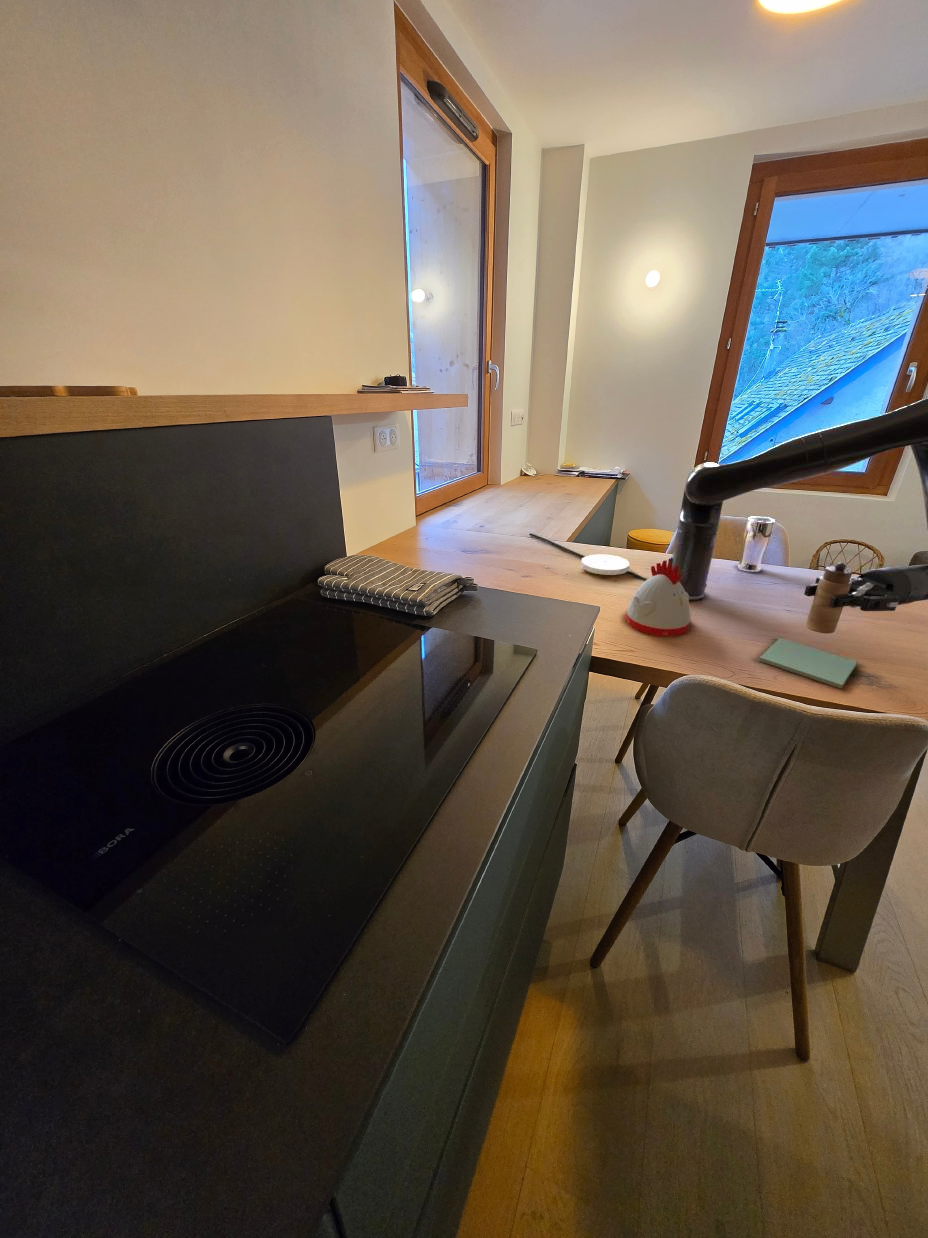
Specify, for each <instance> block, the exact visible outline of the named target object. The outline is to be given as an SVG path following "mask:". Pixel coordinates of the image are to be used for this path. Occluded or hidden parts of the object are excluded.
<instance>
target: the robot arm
mask: <svg viewBox="0 0 928 1238" xmlns="http://www.w3.org/2000/svg"><path fill="white" fill-rule="evenodd" d="M909 446H910V449H911V452H912V454H913V457H914V460H915V463H916V466H917V471H918V474H919V478H920V483H921V488H922V494H923V502H924V511H925V520H926V528H927V529H926V530H928V397H926V398H924V399H921V400H919V401H915V402H914V403H911V404H908V405H906V406H902V407H900V408H898V409H895V410H892V411H889V412H887V413H883V414H879V415H877V416H873V417H870V418H864V419H860V420H856V421H851V422H847V423H844V424H841V425H836V426H833V427H828V428H825V429H822V430H821V429H820V430H818V431H815V432H811V433H807V434H805V435H801V436H797V437H794V438H792V439H790V440H787V441H784V442H782V443H780V444H777V445H776V446H773V447H771V448H769V449H767V450H765V451H763V452H761V453H759V454H757V455H754V456H752V457H749V458H746V459H742V460H738V461H733V462H730V463H725V464H718V463H715V462H703V463H700V464H698V465H696V466H695V467H693V468H692V469H691V471H689V472H688V474H687V477H686V479H685V483H684V488H683V489H684V490H683V495H682V500H681V506H680V511H679V517H678V522H677V529H676V535H675V540H674V545H673V550H672V556H670V557H669V558H668V561H667V564H668V563H670V562H672V571H673V569H674V567H675V566H679V568H678V575H679V574H681V573H683V575H682V577H681V578H680V579H679V582H680V584H681V585H682V586H683V588H684V590H685V592H687V593H688V595H689V601H696V600H697V601H698V600H701V599H703V598H704V596H705V591H706V588H707V585H708V584H707V582H708V577H709V572H710V568H711V565H712V559H713V554H714V550H715V545H716V541H717V537H718V536H717V535H718V532H719V526H720V522H721V514H722V510H723V505H724V501H727V500H731V499H733V498H736V497H738V496H741V495H745V494H747V493H750V492H753V491H757V490H761V489H766V488H772V487H776V486H780V485H785V484H789V483H793V482H798V481H803V480H807V479H812V478H816V477H818V476H819V477H820V476H822V475H826V474H830V473H832V472H836V471H839V470H842V469H844V468H847V467H850V466H852V465H855V464H858V463H860V462H862V461H865V460H867V459H871V458H873V457H875V456H877V455H879V454H883V453H885V452H889V451H892V450H897V449H900V448H905V447H909ZM528 535H529V536H530V537H533V538H536V539H538V540H541V541H543V542H546V543H547V544H551V545H552V546H554V547H557V548H559V549H561V550H563V551H565V552H568V553H570V554H572V555H574V556H577V557H578V558H581V559H582V558H583V557H585V556H586V555H583V554H581V553H579V552H576V551H574V550H572V549H569V548H568V547H565V546H563V545H561V544H558V543H556V542H554V541H552V540H550V539H547V538H545V537H543V536H540V535H537V534H533V533H531V532H530V533H529V534H528ZM624 574H627V575H630V576H632V577H635V578H637V579H639V580H643V581H644V582H645V581H646V580H648V579H649V578H645V577H643V576H641V575H639V574H637V573H635V572H633V571H630V570H628V571H627V572H625V573H624ZM821 576H824V574H823V575H820V576H817V577H816V578H815V581H814V583H810V584H807V585H806V586H805V590H804V593H803V594H804V595H803V596H806V597H814V596H815V593H816V590H817V586H818V583H819V580H820V577H821ZM850 581H851V582H852V584H851V587H850V589H849V592H848V594H842V595H834V596H833V597H832V598H831V601H830V604H829V606H830V607H832V608H837V607H843V608H845V607H849V608H852V609H856V608H857V607H858V608H859V610H860V611H862V612H894V611H896V609H897V608H898V606H902V605H903V606H904V605H908V604H912V603H915V602H921V601H927V600H928V563H927V564H916V565H915V564H914V565H896V566H890V567H882V568H873V569H868V570H866V571H864V572H862V573H861V574H859V575H858V576H856V577H851V578H850Z"/></svg>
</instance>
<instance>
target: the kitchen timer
mask: <svg viewBox="0 0 928 1238" xmlns="http://www.w3.org/2000/svg"><path fill="white" fill-rule="evenodd" d="M678 568H679V566H675V567H674V569H673V571H672V562H670V563H668V561H667V560H665V559H664V560H662V563H661V562H657V563H656V567H655V565H651V566H650V571H651V577H649V578H647V579H648V580H646V581H645V580H644V581H643V582H642V584H640V585H639V586H638V588H637V590H636V591H635V593H634V594H633V596H632V598H631V600H630V602H629V604H628V606H627V610H626V616H625V620H626V622H627V624H628V625H629V626H631V627H632V628H633V629H635V630H637V631H639V632H642V633H645V634H650V635H655V636H666V637H667V636H668V637H669V636H670V637H671V636H679V635H681V634H684V633H685V632H687V631H688V630H689V627H690V622H691V610H690V609H691V608H690V602H689V601H690V600H689V595H688V593H687V592H685V590H684V588H683V586H682V585H681V584H680V582H679V579H680V578H681V577H682V575H683V573H681V574H679V575H678Z"/></svg>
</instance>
